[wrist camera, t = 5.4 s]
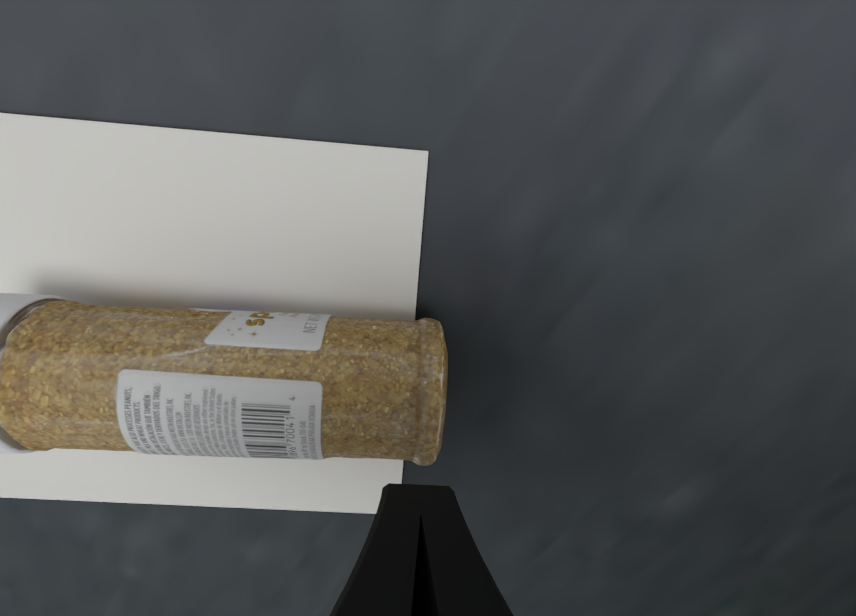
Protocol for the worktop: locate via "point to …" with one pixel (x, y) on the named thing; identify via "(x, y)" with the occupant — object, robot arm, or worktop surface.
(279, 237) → the mat
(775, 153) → the worktop surface
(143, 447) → the sprinkles bottle
